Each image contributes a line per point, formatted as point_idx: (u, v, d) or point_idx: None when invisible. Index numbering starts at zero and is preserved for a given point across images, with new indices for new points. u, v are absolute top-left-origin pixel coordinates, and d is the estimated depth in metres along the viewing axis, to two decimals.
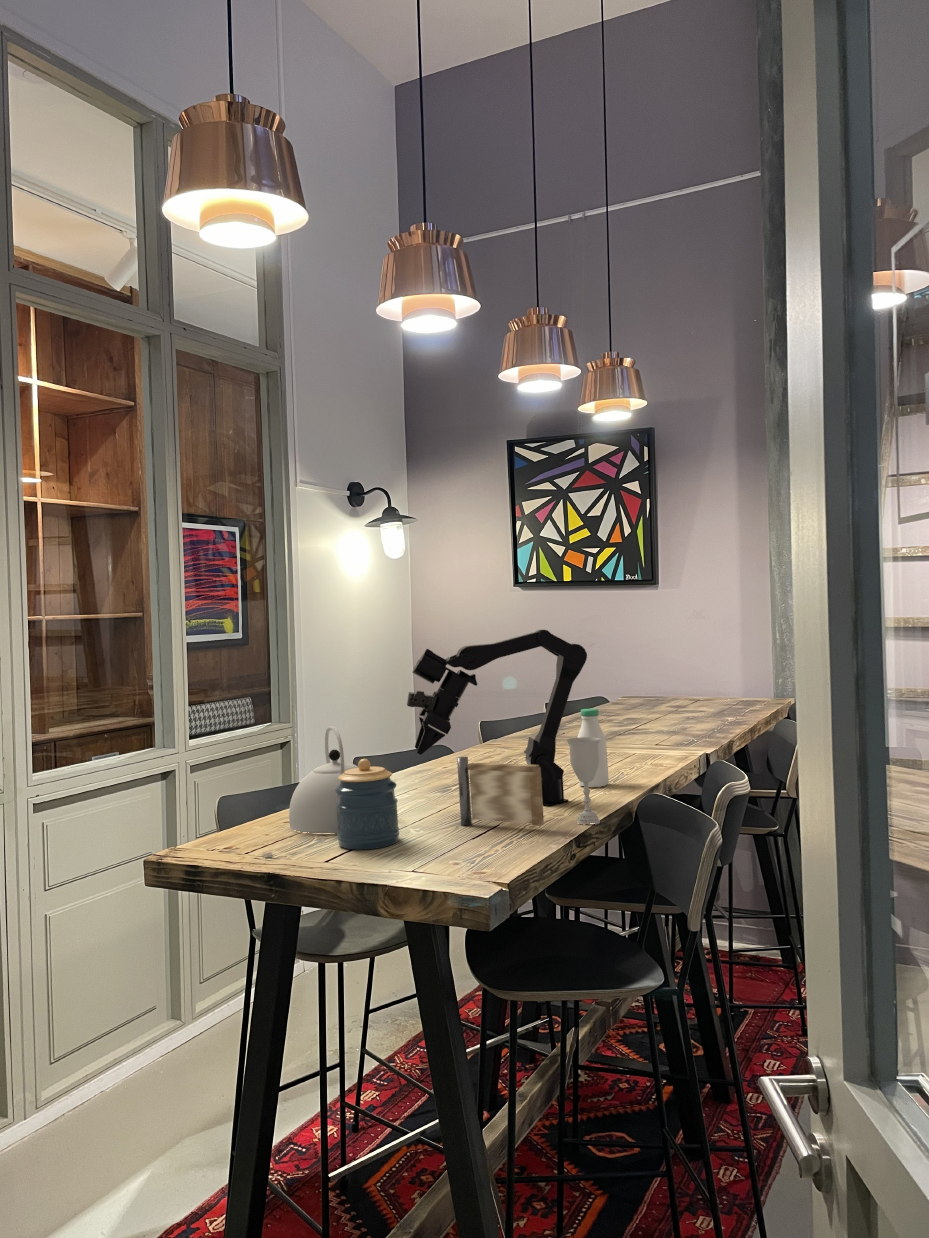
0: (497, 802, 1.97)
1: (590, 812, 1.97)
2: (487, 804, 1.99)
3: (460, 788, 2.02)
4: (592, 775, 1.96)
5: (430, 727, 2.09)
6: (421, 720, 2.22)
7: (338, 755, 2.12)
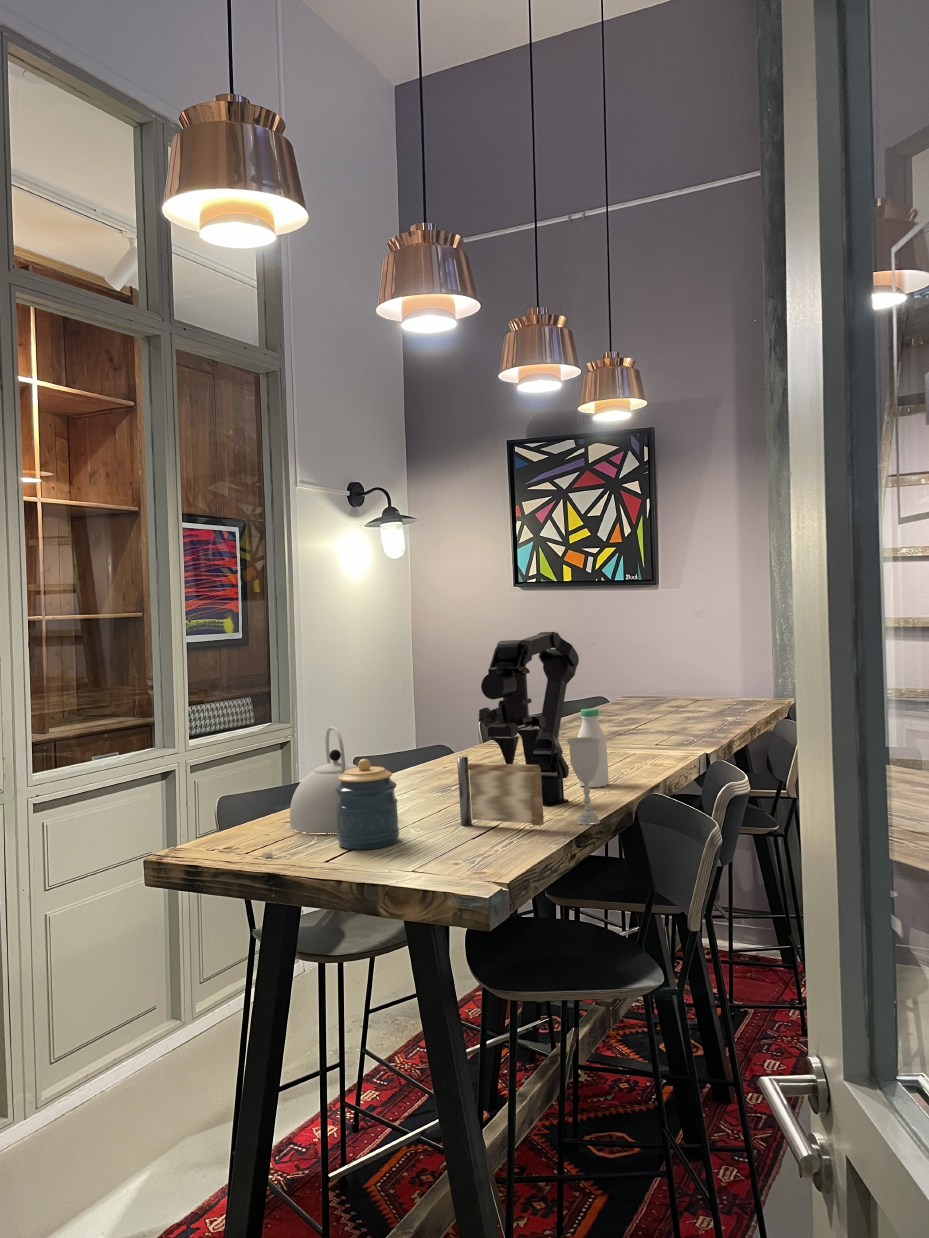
0: (497, 802, 1.97)
1: (590, 812, 1.97)
2: (487, 804, 1.99)
3: (460, 788, 2.02)
4: (592, 775, 1.96)
5: (497, 738, 2.02)
6: (518, 731, 2.13)
7: (339, 755, 2.12)
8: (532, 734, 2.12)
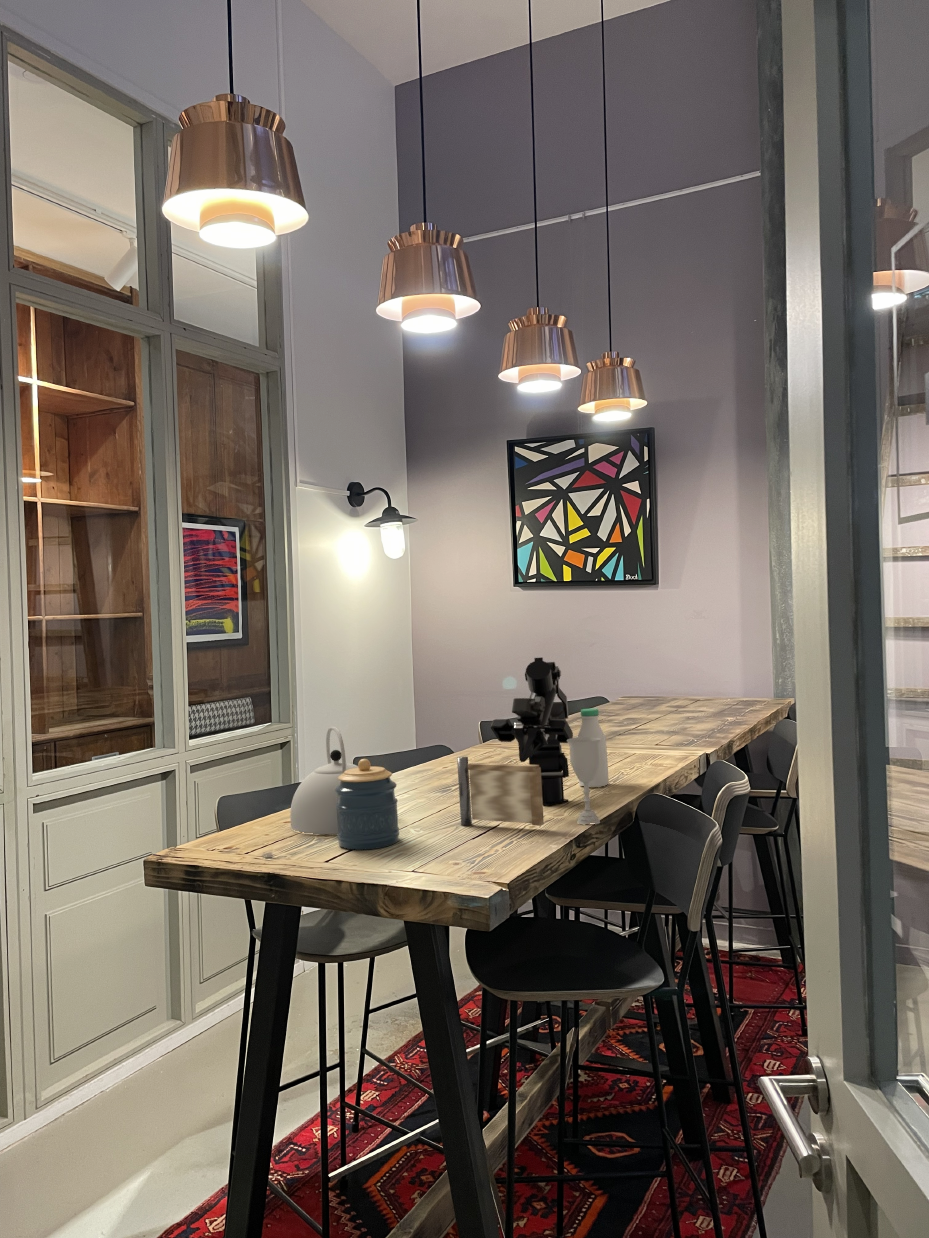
0: (497, 802, 1.97)
1: (590, 812, 1.97)
2: (487, 804, 1.99)
3: (460, 788, 2.02)
4: (592, 775, 1.96)
5: (542, 733, 2.07)
6: (523, 731, 2.08)
7: (339, 755, 2.11)
8: None
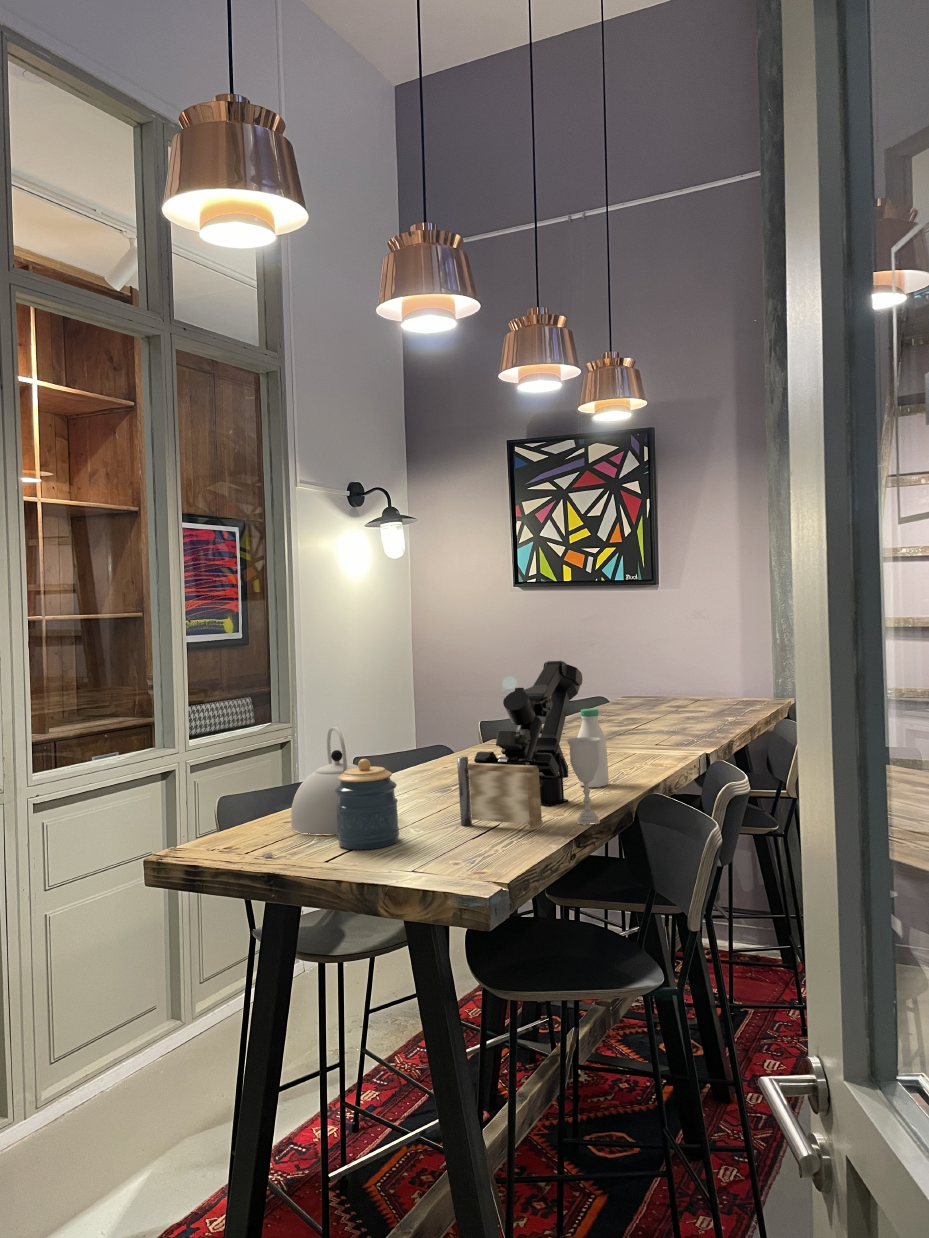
0: (496, 802, 1.97)
1: (590, 812, 1.97)
2: (486, 804, 1.99)
3: (460, 788, 2.02)
4: (592, 775, 1.96)
5: None
6: None
7: (340, 756, 2.11)
8: None
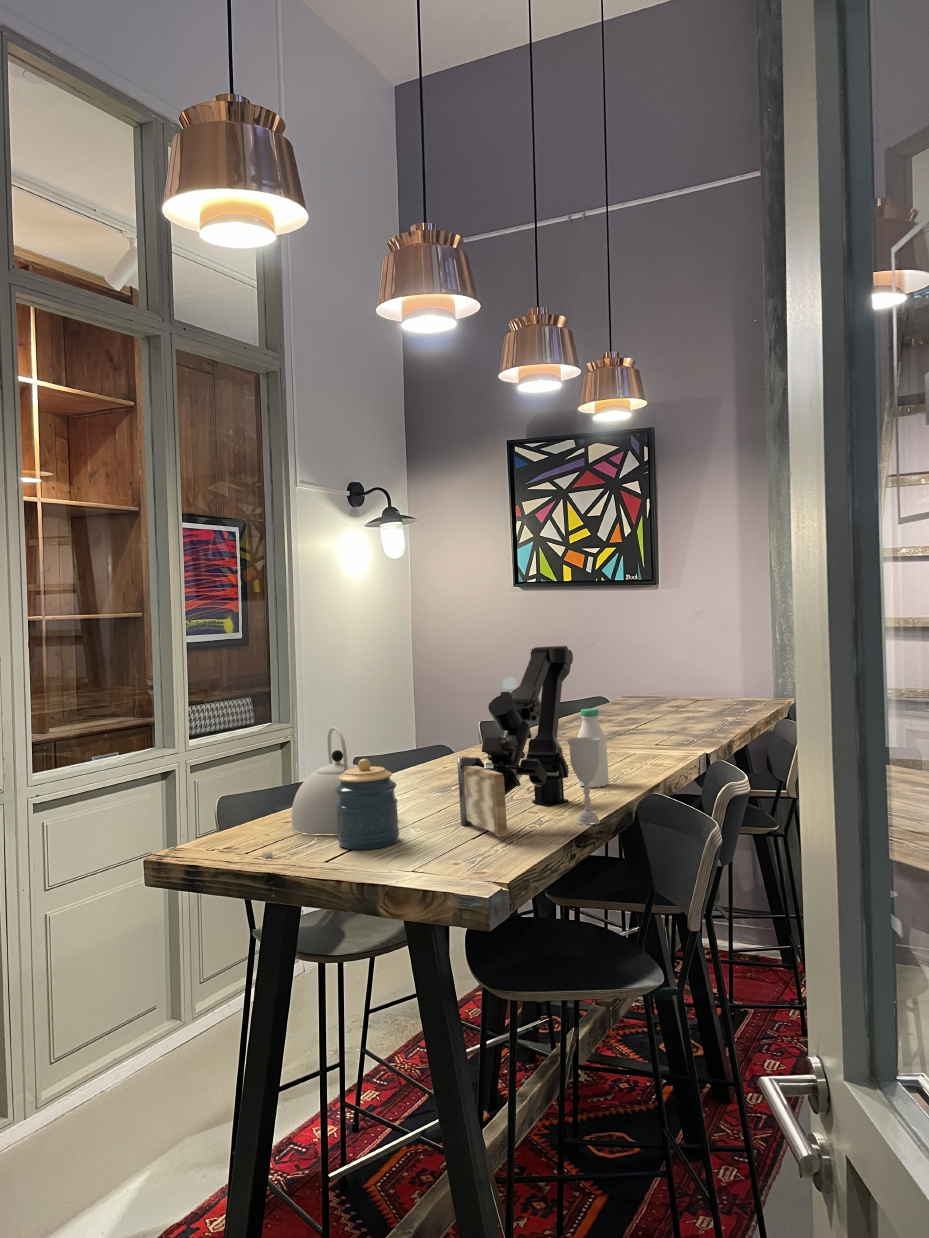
0: (477, 806, 1.94)
1: (590, 812, 1.97)
2: (473, 806, 1.97)
3: (460, 788, 2.02)
4: (592, 775, 1.96)
5: (514, 774, 1.94)
6: None
7: (341, 756, 2.11)
8: None
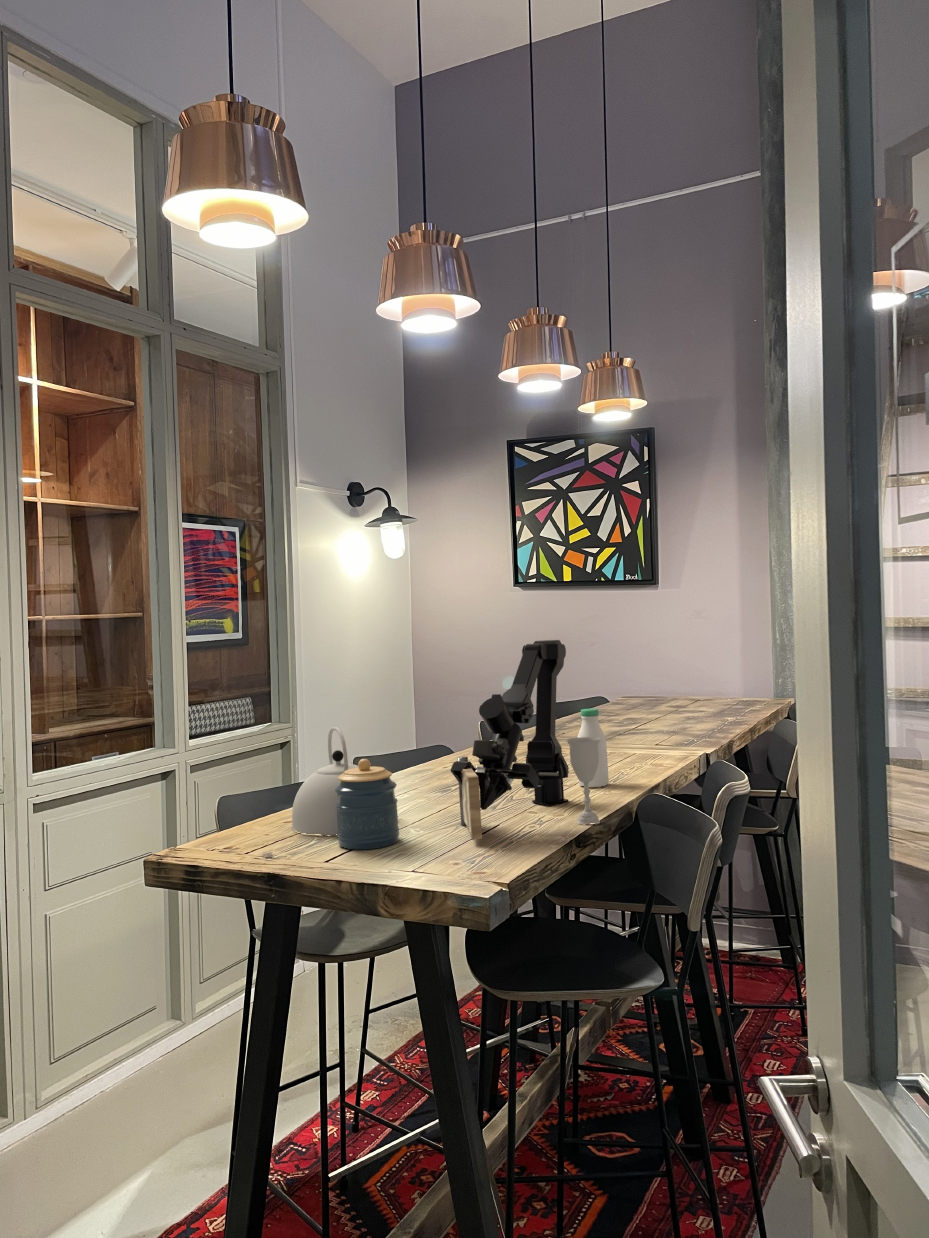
0: (466, 807, 1.94)
1: (590, 812, 1.97)
2: (464, 807, 1.96)
3: (460, 788, 2.02)
4: (592, 775, 1.96)
5: (505, 778, 1.91)
6: (484, 776, 1.92)
7: (341, 756, 2.10)
8: None
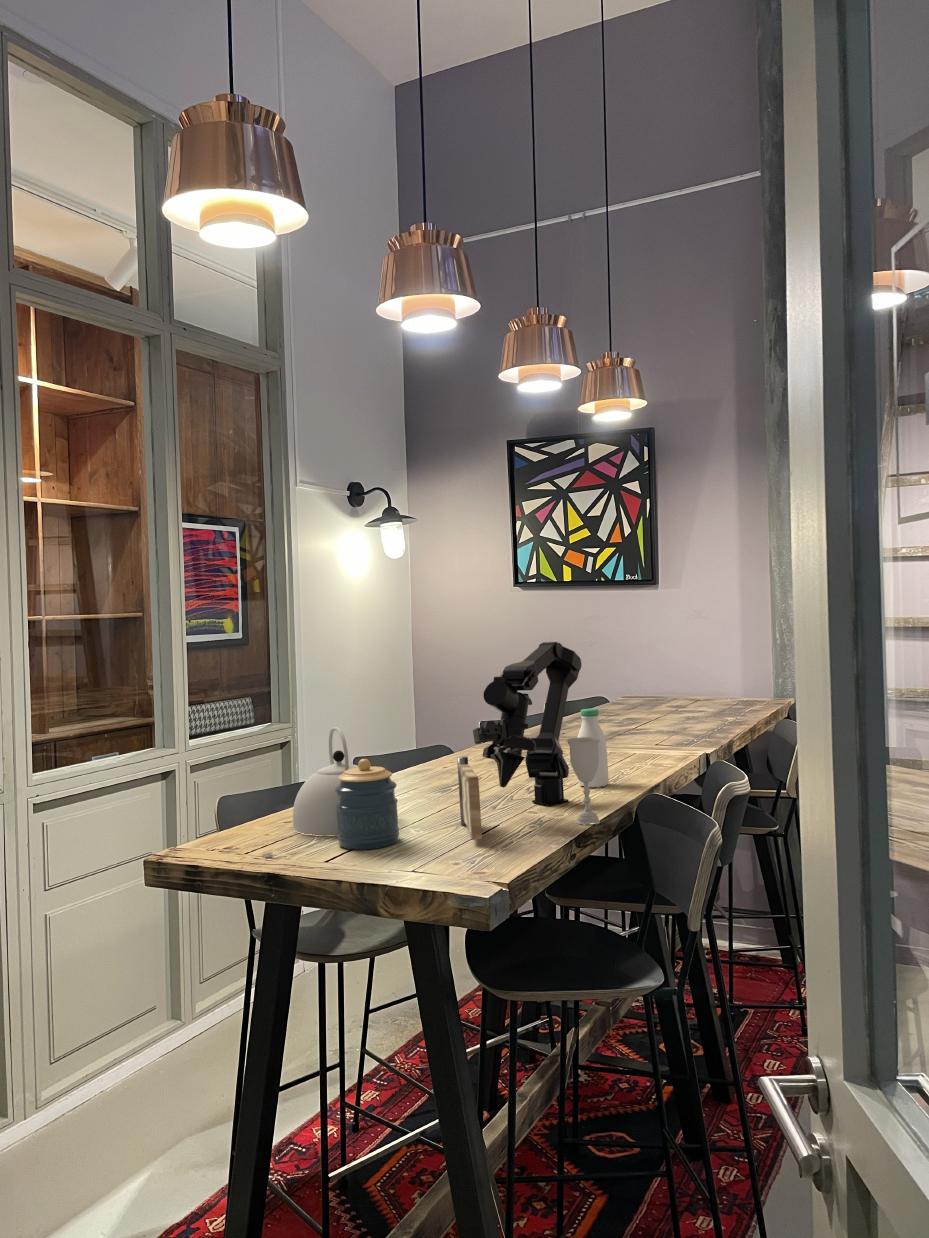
0: (466, 807, 1.94)
1: (590, 812, 1.97)
2: (464, 807, 1.96)
3: (460, 788, 2.02)
4: (592, 775, 1.96)
5: (508, 753, 2.00)
6: (497, 756, 2.03)
7: (342, 756, 2.10)
8: None
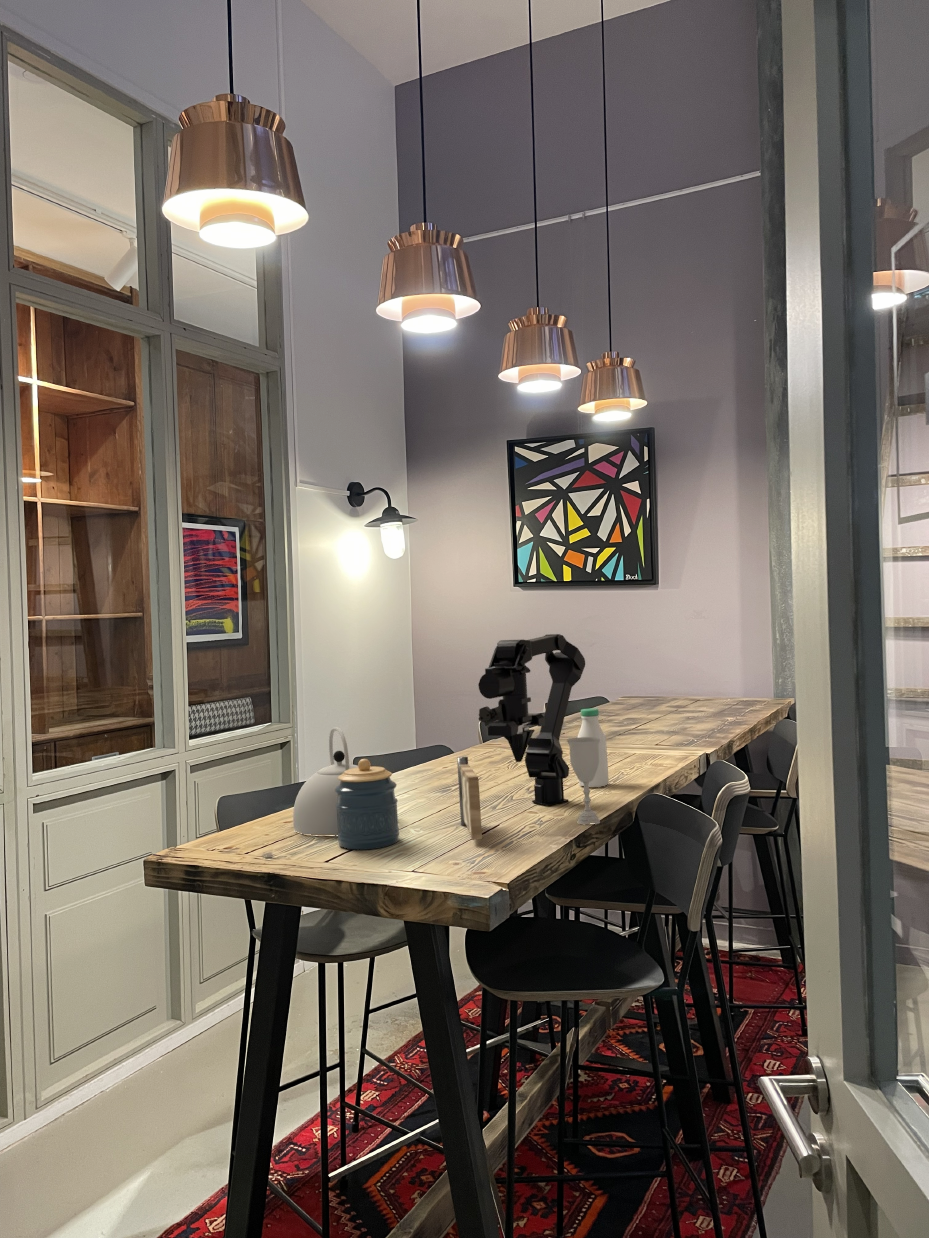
0: (466, 807, 1.94)
1: (590, 812, 1.97)
2: (464, 807, 1.96)
3: (460, 788, 2.02)
4: (592, 775, 1.96)
5: None
6: None
7: (343, 756, 2.10)
8: None
